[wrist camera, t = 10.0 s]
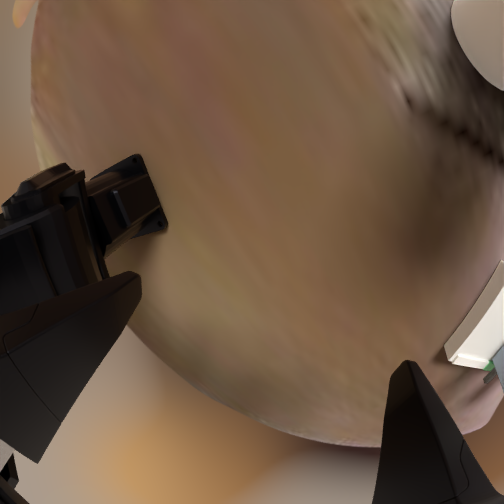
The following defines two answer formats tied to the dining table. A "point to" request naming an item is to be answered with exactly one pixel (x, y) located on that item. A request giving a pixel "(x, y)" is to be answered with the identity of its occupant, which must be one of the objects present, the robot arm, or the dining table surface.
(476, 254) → the dining table surface
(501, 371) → the grey rounded panel
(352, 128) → the dining table surface
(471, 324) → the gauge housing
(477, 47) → the cup
